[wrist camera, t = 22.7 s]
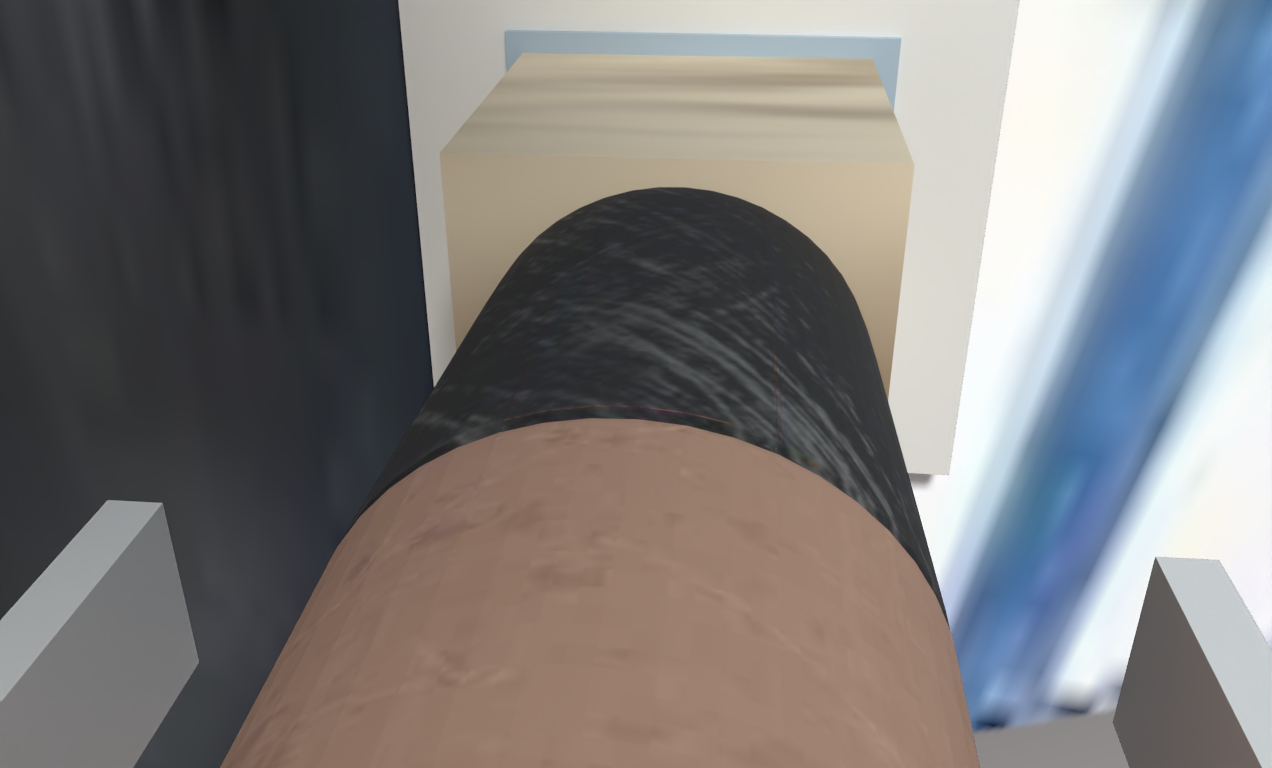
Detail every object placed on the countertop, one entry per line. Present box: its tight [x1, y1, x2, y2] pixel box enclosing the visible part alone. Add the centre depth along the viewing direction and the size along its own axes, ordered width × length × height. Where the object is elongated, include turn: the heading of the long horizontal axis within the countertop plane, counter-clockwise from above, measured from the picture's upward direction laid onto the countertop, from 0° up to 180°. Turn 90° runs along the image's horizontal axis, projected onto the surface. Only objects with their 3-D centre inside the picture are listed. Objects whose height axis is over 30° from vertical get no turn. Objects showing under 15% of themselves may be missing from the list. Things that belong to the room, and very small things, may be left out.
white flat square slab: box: [398, 0, 1020, 475], centre depth 29 cm, size 14×14×1 cm
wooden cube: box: [440, 53, 915, 399], centre depth 25 cm, size 8×8×8 cm
